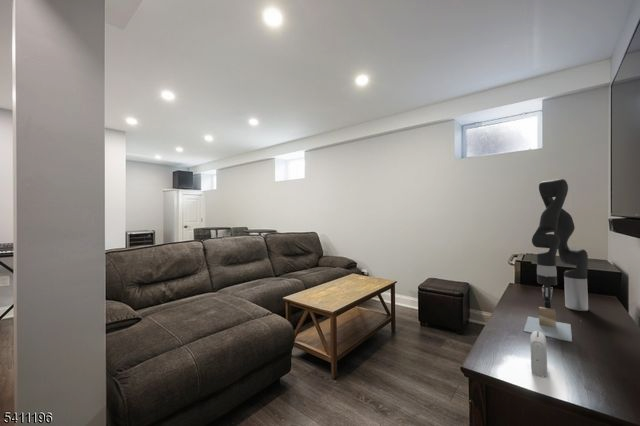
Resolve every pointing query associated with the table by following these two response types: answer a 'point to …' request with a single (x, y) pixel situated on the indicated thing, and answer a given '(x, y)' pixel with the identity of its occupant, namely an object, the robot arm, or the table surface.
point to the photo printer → (538, 353)
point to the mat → (549, 329)
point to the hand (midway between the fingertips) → (547, 309)
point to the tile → (547, 317)
